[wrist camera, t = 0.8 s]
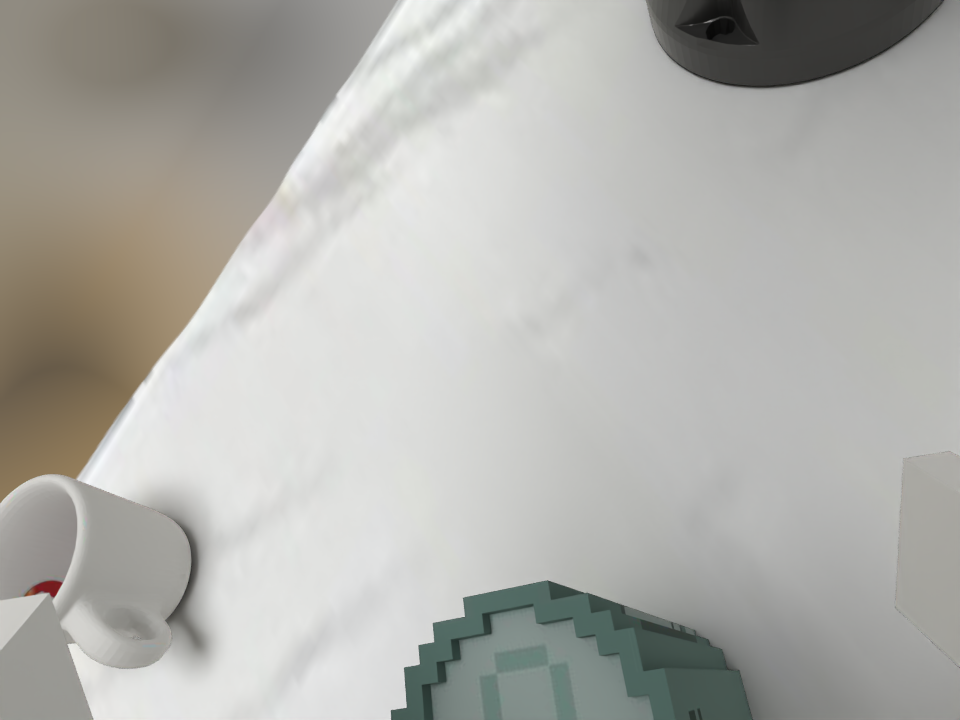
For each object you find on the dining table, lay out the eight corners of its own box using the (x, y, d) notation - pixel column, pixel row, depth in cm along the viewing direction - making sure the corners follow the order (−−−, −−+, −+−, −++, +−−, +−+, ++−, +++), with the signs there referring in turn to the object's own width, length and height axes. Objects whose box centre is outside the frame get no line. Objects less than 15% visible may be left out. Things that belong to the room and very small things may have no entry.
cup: (262, 597, 36) (134, 580, 29) (164, 726, 35) (11, 738, 29) (169, 479, 42) (45, 442, 35) (84, 587, 41) (-58, 571, 35)
